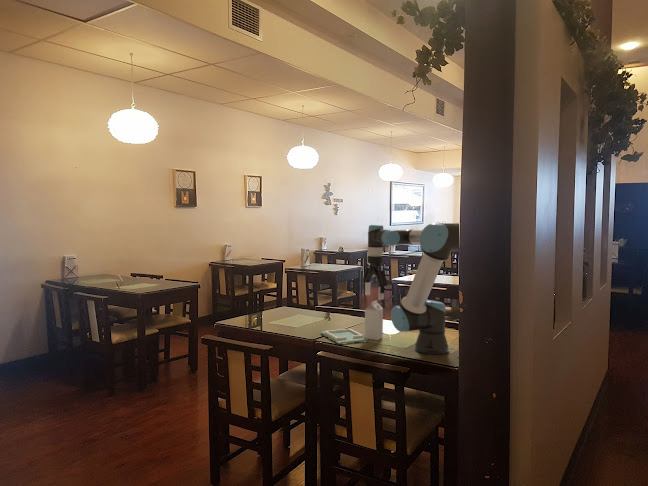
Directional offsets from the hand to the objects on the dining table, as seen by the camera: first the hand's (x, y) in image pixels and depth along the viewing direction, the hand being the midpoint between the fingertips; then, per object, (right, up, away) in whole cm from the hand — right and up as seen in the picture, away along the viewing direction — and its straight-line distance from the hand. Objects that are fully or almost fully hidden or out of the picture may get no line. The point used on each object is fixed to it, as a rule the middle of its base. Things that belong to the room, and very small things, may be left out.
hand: (374, 297), depth 236 cm
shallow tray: (-15, -21, +1) cm, 26 cm away
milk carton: (0, -21, +1) cm, 21 cm away
